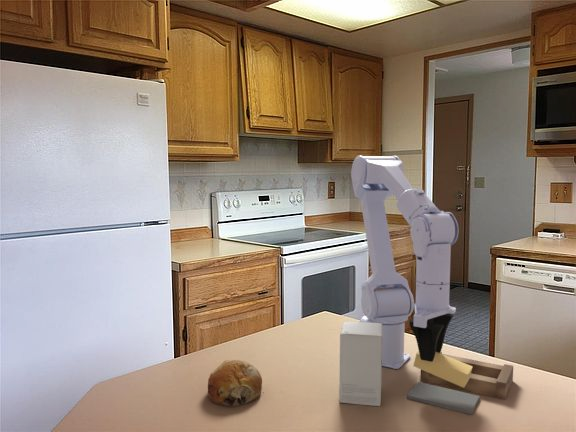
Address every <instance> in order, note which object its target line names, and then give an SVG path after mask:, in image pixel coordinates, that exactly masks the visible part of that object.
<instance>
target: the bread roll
mask: <svg viewBox="0 0 576 432" xmlns="http://www.w3.org/2000/svg"><path fill="white" fill-rule="evenodd" d="M207 381H208V382H207V396H208V397H209V399H210V400H211V402H212V403H215V404H217V405H220V406H226V407H237V406H242V405H245V404H249V403H250V402H252V401H254V400H255V399H258V397H259V396H260V395H261V394H262V389H263V379H262V375H261V373H260V371H259V370H258V369H257V368H256V367H255V366H254V365H253V364H251V363H249V362H247V361H246V360H243V359H227V360H226V359H225V360H224V361H223V362H222V363H220V364H219V366H217V368H215V369H214V370H213V371H212V372H211V373H210V374H209V377H208V380H207Z"/></svg>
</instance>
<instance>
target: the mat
mask: <svg viewBox="0 0 576 432" xmlns="http://www.w3.org/2000/svg"><path fill="white" fill-rule="evenodd" d="M406 399H408V400H411V401H416V402H420V403H424V404H428V405H433V406H436V407H440V408H444V409H447V410H451V411H454V412H458V413H459V412H460V413H464V414H467V415H470V416H471V415H473V412H474V411H475V409H476V407H477V405H478V403H479V402H480V395H477V394H473V393H468V392H464V391H460V390H455V389H450V388H446V387H442V386H439V385H434V384H429V383H425V382H421V381H418V382H417V383H416V384H415V385H414V387H412V388H411V390H410V391H409V392H408V394H406Z"/></svg>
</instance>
